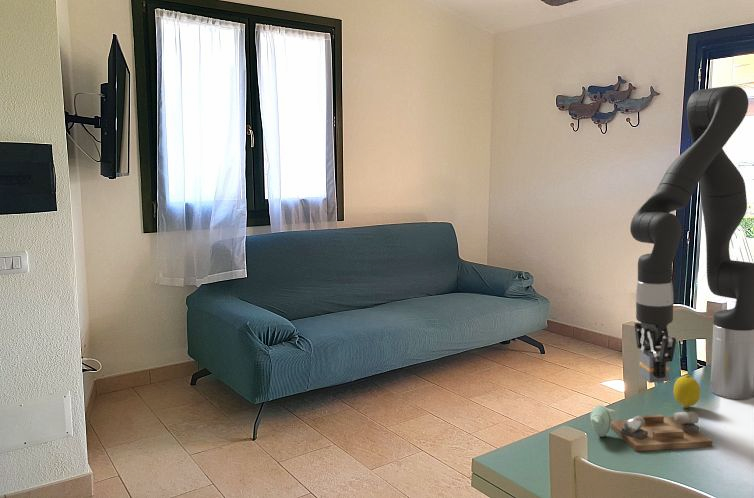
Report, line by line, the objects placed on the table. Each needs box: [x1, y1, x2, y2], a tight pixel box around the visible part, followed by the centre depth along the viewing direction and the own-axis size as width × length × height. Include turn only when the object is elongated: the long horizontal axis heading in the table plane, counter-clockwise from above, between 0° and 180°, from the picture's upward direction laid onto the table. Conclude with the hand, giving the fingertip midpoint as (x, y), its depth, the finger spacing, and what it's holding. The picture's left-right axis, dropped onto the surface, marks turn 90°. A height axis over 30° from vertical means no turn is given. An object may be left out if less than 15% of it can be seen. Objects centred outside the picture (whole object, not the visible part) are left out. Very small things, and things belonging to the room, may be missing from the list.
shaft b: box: [622, 415, 648, 440], centre depth 123 cm, size 4×4×4 cm
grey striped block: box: [639, 350, 670, 384], centre depth 134 cm, size 5×5×6 cm
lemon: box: [673, 374, 701, 409], centre depth 138 cm, size 6×6×8 cm
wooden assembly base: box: [610, 411, 713, 452], centre depth 125 cm, size 16×12×5 cm
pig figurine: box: [589, 404, 617, 438], centre depth 125 cm, size 8×4×7 cm, turn 131°
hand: (653, 372), depth 134 cm, fingers closed on grey striped block, 4 cm apart
